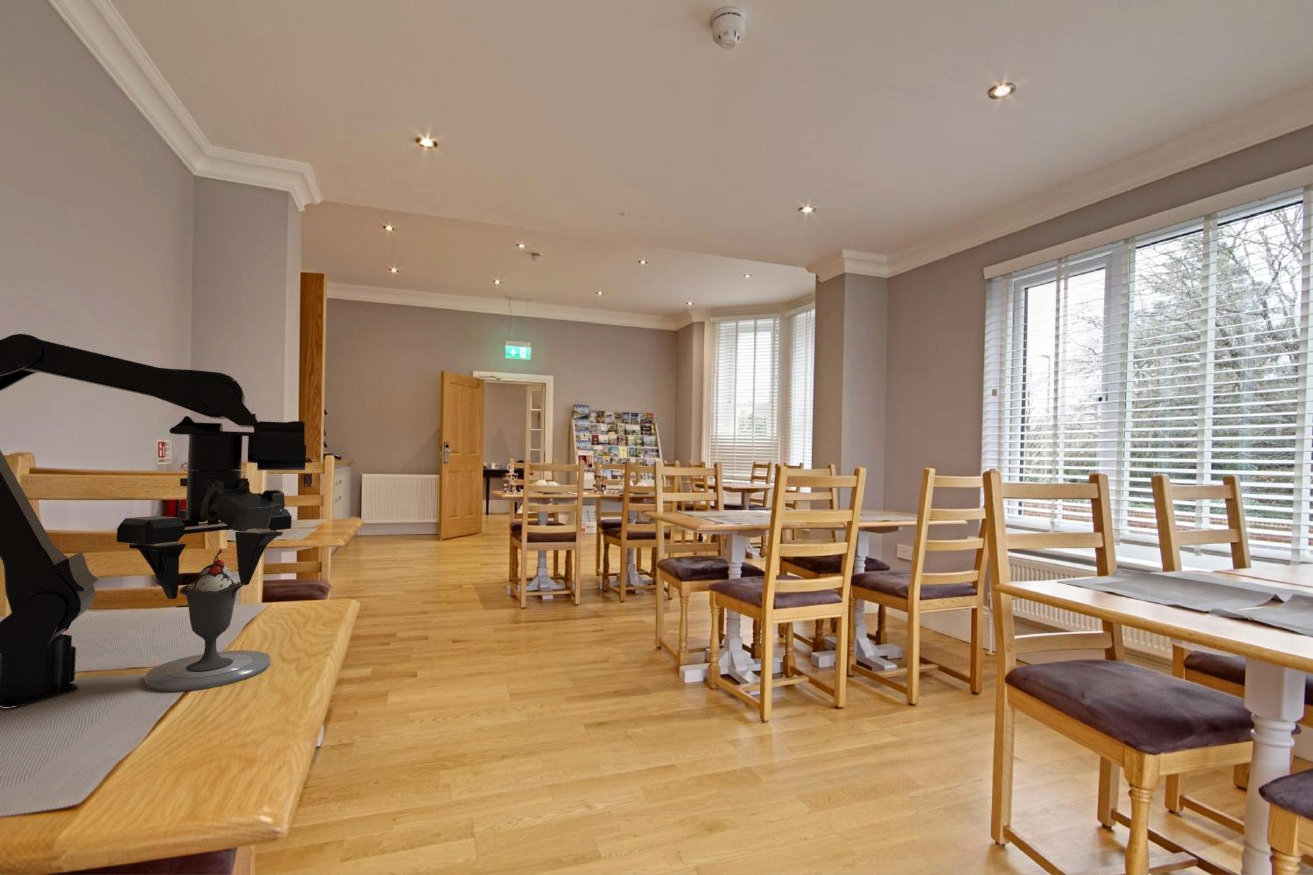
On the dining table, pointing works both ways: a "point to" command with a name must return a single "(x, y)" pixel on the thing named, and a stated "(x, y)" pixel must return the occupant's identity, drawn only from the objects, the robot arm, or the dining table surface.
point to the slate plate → (206, 672)
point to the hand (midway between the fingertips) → (210, 591)
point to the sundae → (211, 611)
